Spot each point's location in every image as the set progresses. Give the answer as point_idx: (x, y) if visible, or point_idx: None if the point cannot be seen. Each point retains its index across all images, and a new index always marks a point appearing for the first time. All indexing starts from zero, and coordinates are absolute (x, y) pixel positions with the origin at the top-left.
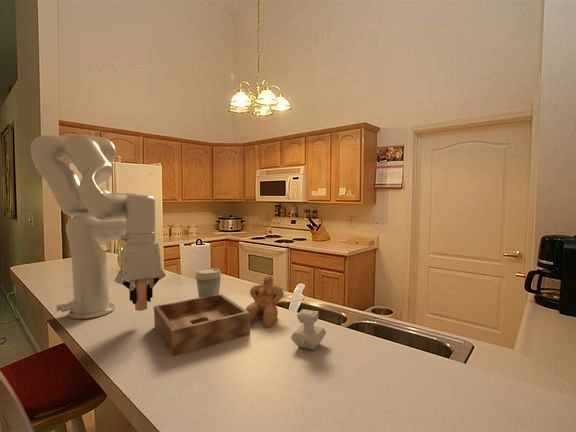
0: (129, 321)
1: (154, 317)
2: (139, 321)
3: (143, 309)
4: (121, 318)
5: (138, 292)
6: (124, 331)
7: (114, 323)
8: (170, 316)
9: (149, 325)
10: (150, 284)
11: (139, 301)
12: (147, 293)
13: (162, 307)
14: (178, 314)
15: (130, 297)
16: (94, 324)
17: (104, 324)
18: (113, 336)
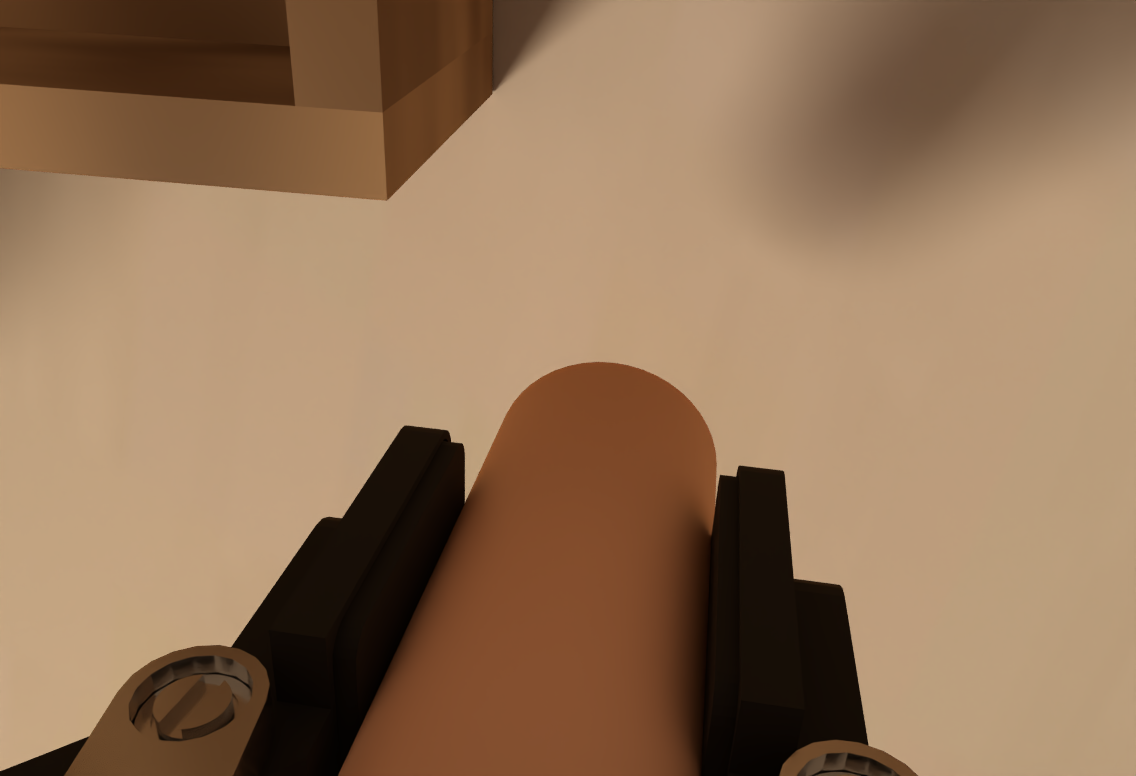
0: None
1: (452, 116)
2: None
3: (587, 369)
4: None
5: (644, 650)
6: (921, 225)
7: (920, 592)
8: (178, 21)
9: (546, 214)
10: (205, 747)
11: (645, 479)
12: (408, 594)
13: (222, 92)
14: (32, 28)
15: (847, 630)
16: (1126, 711)
17: (1032, 639)
18: (1130, 132)
